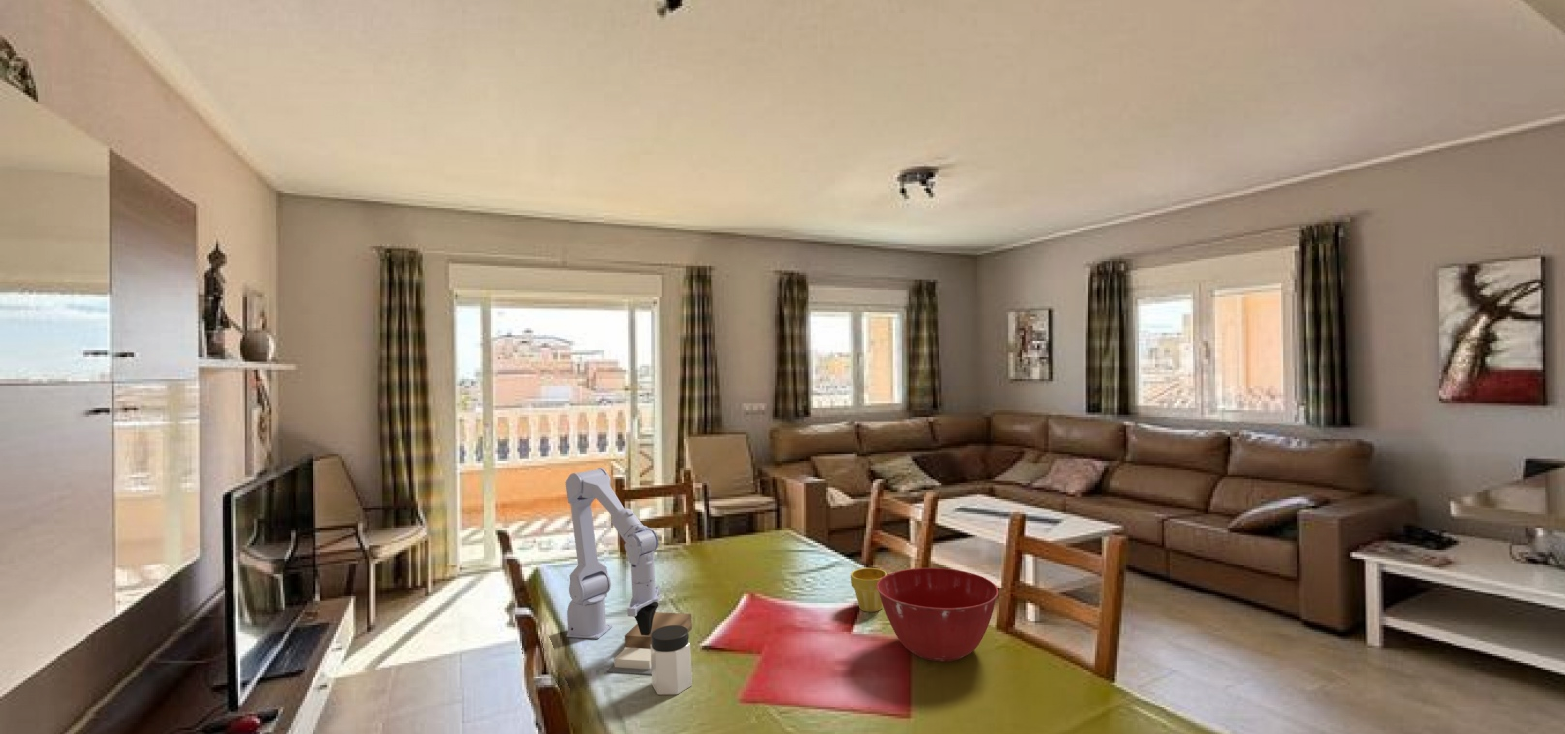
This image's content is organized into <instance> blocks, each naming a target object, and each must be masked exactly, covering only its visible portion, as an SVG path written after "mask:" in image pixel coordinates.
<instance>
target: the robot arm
mask: <svg viewBox="0 0 1565 734" xmlns="http://www.w3.org/2000/svg"><path fill="white" fill-rule="evenodd" d="M565 491H566V497H567V499H566V500H567V503H568V504H570V511H571V518H572V527H573V528H572V529H573V535H574V542H575V552H576V553H575V554H576V559H577V565H576V567H575V568H574V569H573V570H572V571H571V573H570V574H569V587H568V594H569V596H570V599H571V600H570V601H569V604H568V606H567V611H566V617H567V618H566V619H567V634H566V638H578V639H583V638H584V639H600V638H601V637H602V636H603V635H604V634H605V633H607V631H609V630H611V628H612V627H613V624H607V623H606V621H607V620H606V619H607V618H606V603H605V602H606V600H605V598H607V597H608V593H609V591H610V590H611V586H612V581H611V577H610V576H609V573H608V569H607V566H606V565H605V564H603V563H601V562H599V558H598V557H599V556H598V551H597V542H596V536H595V527H594V520H593V512H592V504H593V502H594V501H595V499H596V500H597V501H598V502H599V504H601V506H602V507H603V508H604V509H605V510H606V511H607V512H608V513H609V514H610V516H612V520H611V524H612V525H613V527H614V528H615V530H616V532H618V534H619V535H620V537H621V538H622V540H623V541H624V542H625V543H624V550H625V553H626V554H627V559H628V563H629V564H630V575H631V576H630V577H631V595H632V597H631V600H630V603H629V606H628V607H627V608H626V610H627V611H626V612H627V617H634V619H635V621H636V624H638V627H639V630H640V633H641V635H649V634H650V633H651V629H652V624H653V618H654V615H655V612H656V611H657V609H658V607H659V601H661V595H660V594H661V588H660V586H656V571H655V552H656V551H657V549H658V547H659V538H658V535H657V532H656V531H655V529H653V528H650V527H648V526H647V525H643V523H642V522H641V521H640V520H639V518H638V517H637V515H636V514H635V513H634V512H633V510H632V509H631V508H625V507H624V506H623V504H622V502H621V501H620V499H619V497H618V496H617V494H616V492H615V491H614V490H613V488H612V486H611V477H610V475H609V473H608V472H607V471H606V469H605V468H603V467H599V468H597V469H591V470H586V471H585V470H584V471H580V472H572V473H570V474H569V475H568V477H567V479H566V481H565Z"/></svg>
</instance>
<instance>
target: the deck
mask: <svg viewBox="0 0 1565 734" xmlns="http://www.w3.org/2000/svg"><path fill="white" fill-rule="evenodd" d="M669 625H680V626H684V627H686V628H687V630H688V633H689V632H690V631H691V630H692V625H693V624H692V613H681V612H679V613H678V612H659V611H658V612H655V615H654V618H653V624H652V629H651V633H650V634H649V635H641V633H640V630H639V627H638V624H637V623H636V624H635V625H634V626H633V627H632V628H631V629H630V630H629V631H628V632H627V633H626V634H625V635H624V649H625V648H643V649H651V646H650V645H651V644H652V642H651V634H652V632H653V631H655V630H656V629H658V628H660V627H664V626H669Z"/></svg>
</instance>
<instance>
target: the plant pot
mask: <svg viewBox="0 0 1565 734" xmlns="http://www.w3.org/2000/svg"><path fill="white" fill-rule="evenodd" d="M886 575H888V573H887V571H885V570H883V569H881V568H875V567H863V568H858V569H855V570H853V571H852V572H851V573H850V583H851V587H852V588H853V589H854V593H855V596H856V601H857V604H858V607H859V609H860V610H861V611H863V612H867V613H872V612H874V613H875V612H879V611H881V610H882V609H883V608H884V607H883V604H882V600H881V597H880V593H879V591H878V590H877V583H878V581H879V580H880V579H881V578H882V577H884V576H886Z"/></svg>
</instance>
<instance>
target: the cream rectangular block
mask: <svg viewBox="0 0 1565 734" xmlns="http://www.w3.org/2000/svg"><path fill="white" fill-rule="evenodd" d="M613 661H614V663H613V664H615V667H618V668H634V669H649V670H650V669H651V649H643V648H625V647H624V648H623V649H622V651H620V652H619V653H618V654H617V656H616V657H614V659H613Z"/></svg>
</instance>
